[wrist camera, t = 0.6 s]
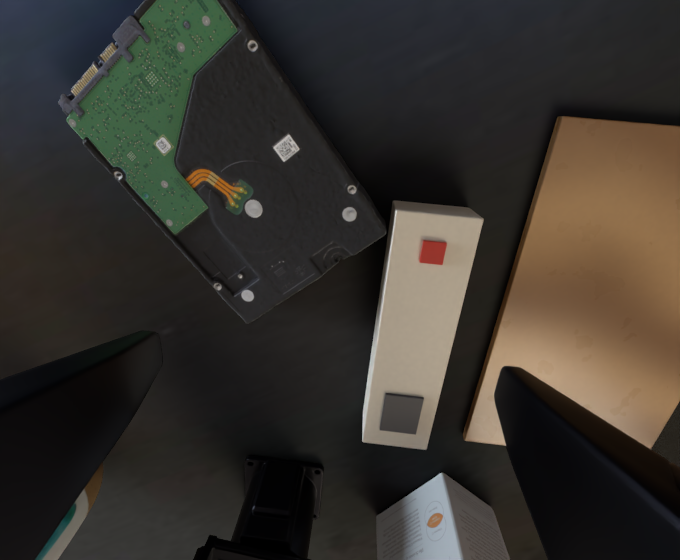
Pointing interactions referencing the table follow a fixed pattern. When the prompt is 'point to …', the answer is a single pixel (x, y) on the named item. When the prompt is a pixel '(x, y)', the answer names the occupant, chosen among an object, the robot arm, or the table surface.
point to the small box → (439, 526)
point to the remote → (417, 319)
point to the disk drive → (221, 152)
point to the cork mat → (596, 280)
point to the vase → (72, 519)
